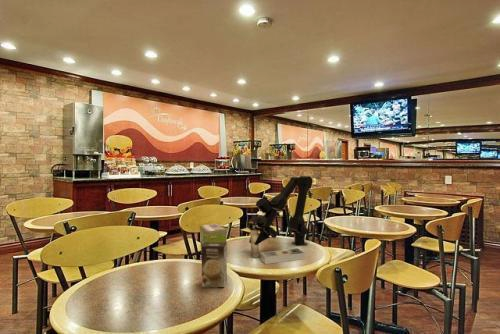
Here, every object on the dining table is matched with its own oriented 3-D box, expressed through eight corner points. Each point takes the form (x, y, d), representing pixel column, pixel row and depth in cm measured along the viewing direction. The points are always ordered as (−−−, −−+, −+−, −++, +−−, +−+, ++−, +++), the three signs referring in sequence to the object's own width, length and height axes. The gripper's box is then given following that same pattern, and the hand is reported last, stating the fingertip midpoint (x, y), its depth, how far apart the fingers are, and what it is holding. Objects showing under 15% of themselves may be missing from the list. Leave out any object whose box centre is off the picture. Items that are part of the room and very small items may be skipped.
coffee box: (201, 287, 112) (200, 246, 112) (205, 281, 118) (204, 241, 118) (224, 288, 111) (223, 246, 111) (227, 281, 117) (226, 241, 117)
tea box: (200, 252, 156) (199, 224, 156) (218, 249, 161) (217, 222, 160) (208, 260, 143) (207, 230, 142) (227, 257, 147) (226, 228, 147)
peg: (250, 255, 149) (249, 230, 148) (257, 254, 150) (257, 229, 150) (252, 257, 145) (251, 231, 145) (260, 257, 146) (259, 231, 146)
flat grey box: (260, 258, 144) (260, 252, 144) (297, 254, 149) (297, 248, 149) (265, 263, 136) (265, 257, 136) (304, 259, 142) (304, 252, 142)
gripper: (248, 207, 157) (232, 231, 150) (272, 211, 142) (255, 238, 135) (260, 219, 162) (244, 243, 155) (284, 224, 147) (268, 251, 140)
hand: (252, 243), depth 146 cm, fingers closed on peg, 4 cm apart
